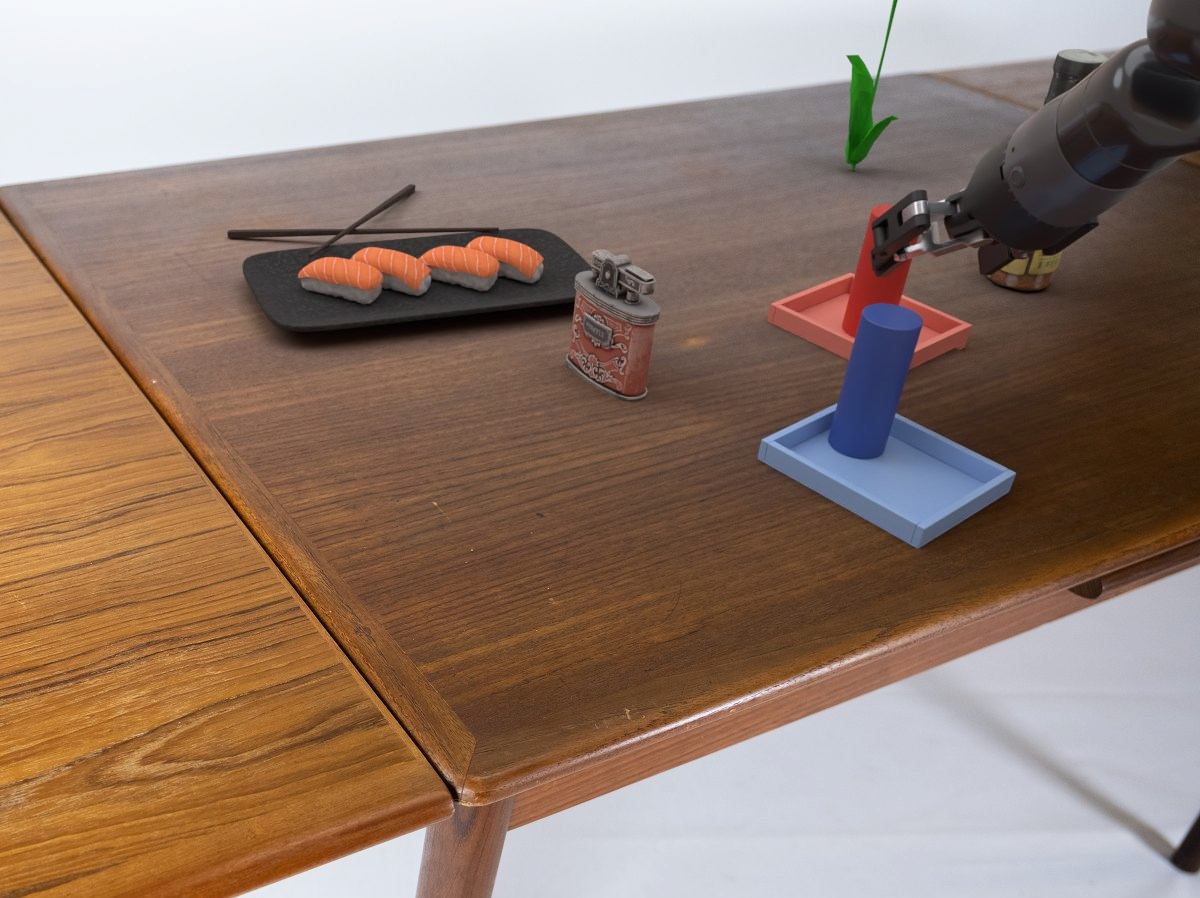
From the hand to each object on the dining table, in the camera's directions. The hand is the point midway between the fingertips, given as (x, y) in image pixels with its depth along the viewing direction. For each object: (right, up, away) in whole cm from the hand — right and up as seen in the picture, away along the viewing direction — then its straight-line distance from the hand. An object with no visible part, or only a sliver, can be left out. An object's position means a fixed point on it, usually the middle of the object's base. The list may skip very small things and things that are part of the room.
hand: (930, 263), depth 96 cm
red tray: (-2, -3, +10) cm, 11 cm away
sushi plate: (-41, +5, +17) cm, 45 cm away
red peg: (-2, -3, +10) cm, 11 cm away
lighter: (-24, -9, +1) cm, 26 cm away
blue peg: (-7, -14, -5) cm, 16 cm away
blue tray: (-6, -17, -7) cm, 19 cm away
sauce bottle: (+15, +4, +22) cm, 27 cm away
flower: (+7, +21, +43) cm, 48 cm away
